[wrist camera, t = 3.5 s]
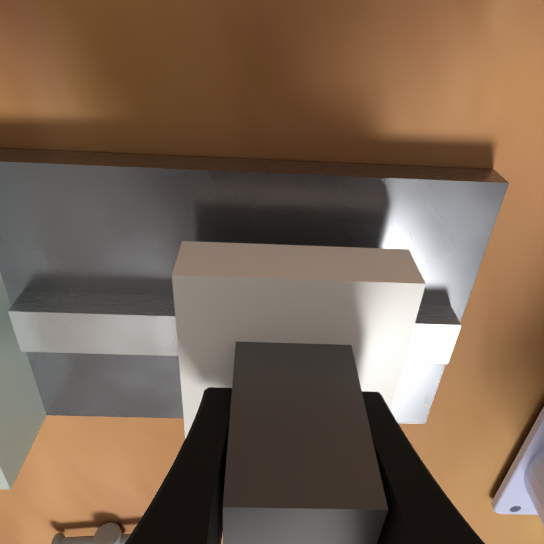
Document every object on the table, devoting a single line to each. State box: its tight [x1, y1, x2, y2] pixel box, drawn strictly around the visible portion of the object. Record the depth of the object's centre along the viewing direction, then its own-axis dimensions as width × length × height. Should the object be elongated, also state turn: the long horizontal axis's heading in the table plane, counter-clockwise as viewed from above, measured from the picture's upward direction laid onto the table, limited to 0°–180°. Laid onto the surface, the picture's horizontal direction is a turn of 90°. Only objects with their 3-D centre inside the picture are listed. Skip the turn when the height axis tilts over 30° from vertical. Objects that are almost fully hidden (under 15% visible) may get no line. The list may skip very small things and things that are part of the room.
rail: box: [0, 148, 509, 424], centre depth 15 cm, size 20×10×2 cm, turn 87°
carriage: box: [172, 241, 426, 544], centre depth 12 cm, size 6×7×6 cm
